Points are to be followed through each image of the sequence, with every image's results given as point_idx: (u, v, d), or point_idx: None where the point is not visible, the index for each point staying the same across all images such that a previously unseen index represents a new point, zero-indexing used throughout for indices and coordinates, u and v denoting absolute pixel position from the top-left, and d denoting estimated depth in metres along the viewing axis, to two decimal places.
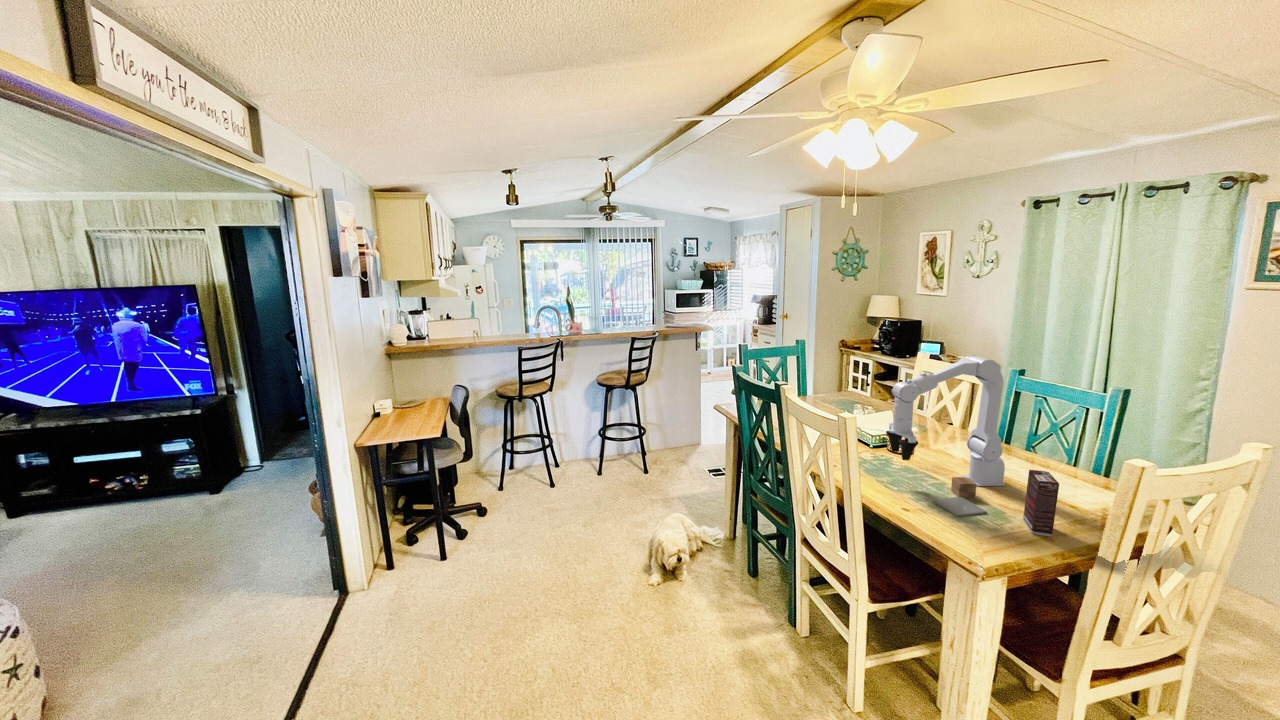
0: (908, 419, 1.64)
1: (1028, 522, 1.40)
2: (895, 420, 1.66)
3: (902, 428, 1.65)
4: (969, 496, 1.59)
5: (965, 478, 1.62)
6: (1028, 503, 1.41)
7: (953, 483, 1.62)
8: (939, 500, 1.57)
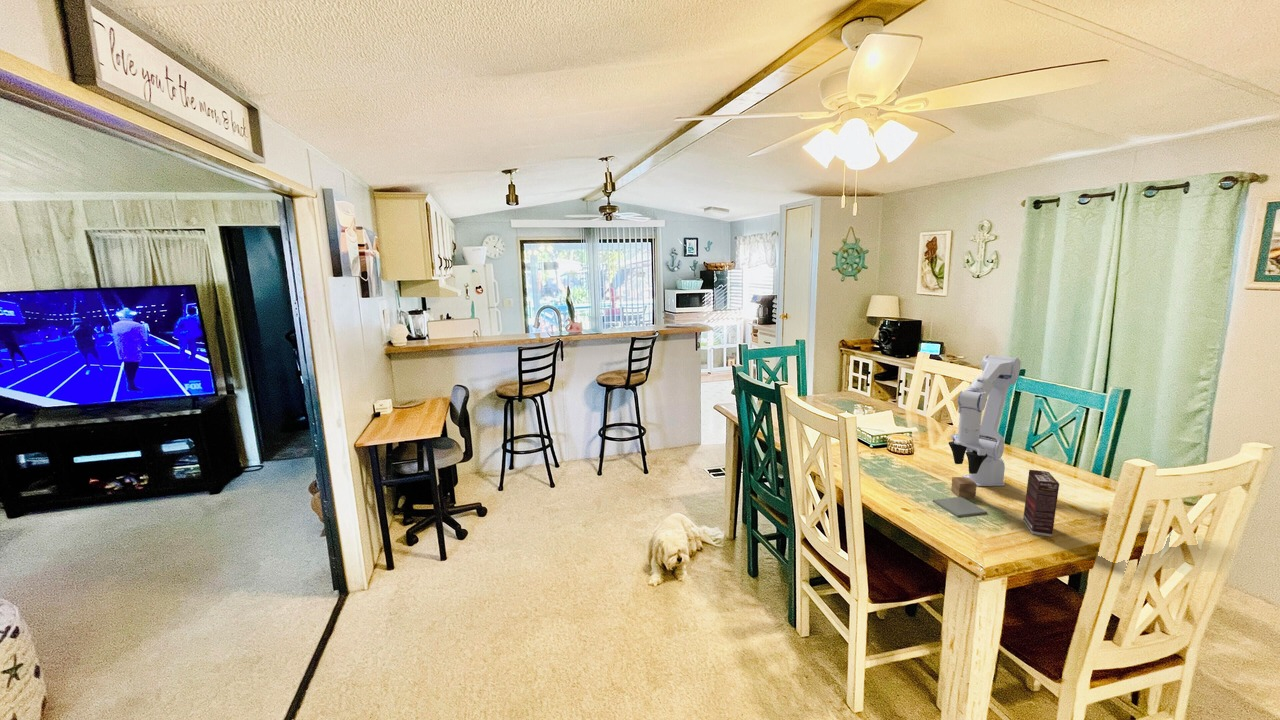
0: (979, 429, 1.55)
1: (1028, 522, 1.40)
2: (961, 431, 1.56)
3: (969, 440, 1.55)
4: (969, 496, 1.59)
5: (965, 478, 1.62)
6: (1028, 503, 1.41)
7: (953, 483, 1.62)
8: (939, 500, 1.57)
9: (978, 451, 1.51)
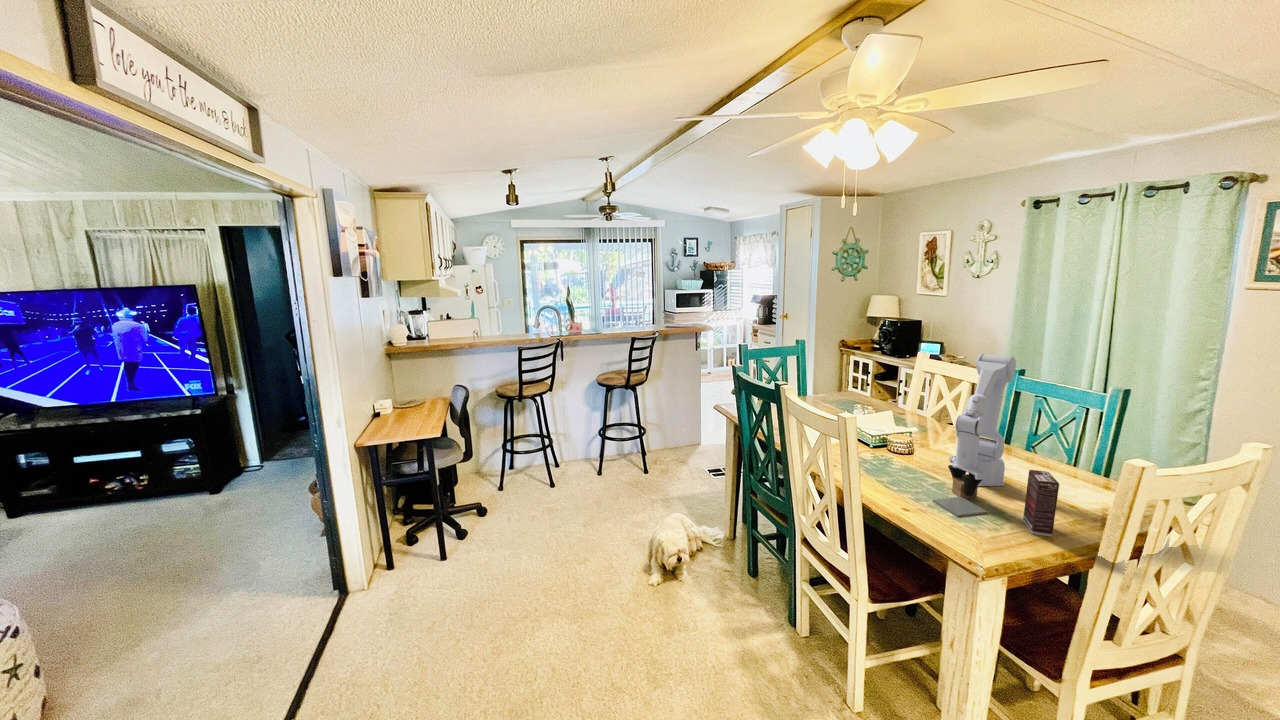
0: (977, 453, 1.56)
1: (1028, 522, 1.40)
2: (959, 454, 1.58)
3: (967, 463, 1.56)
4: (971, 497, 1.58)
5: None
6: (1028, 503, 1.41)
7: (954, 483, 1.62)
8: (939, 500, 1.57)
9: (976, 475, 1.52)
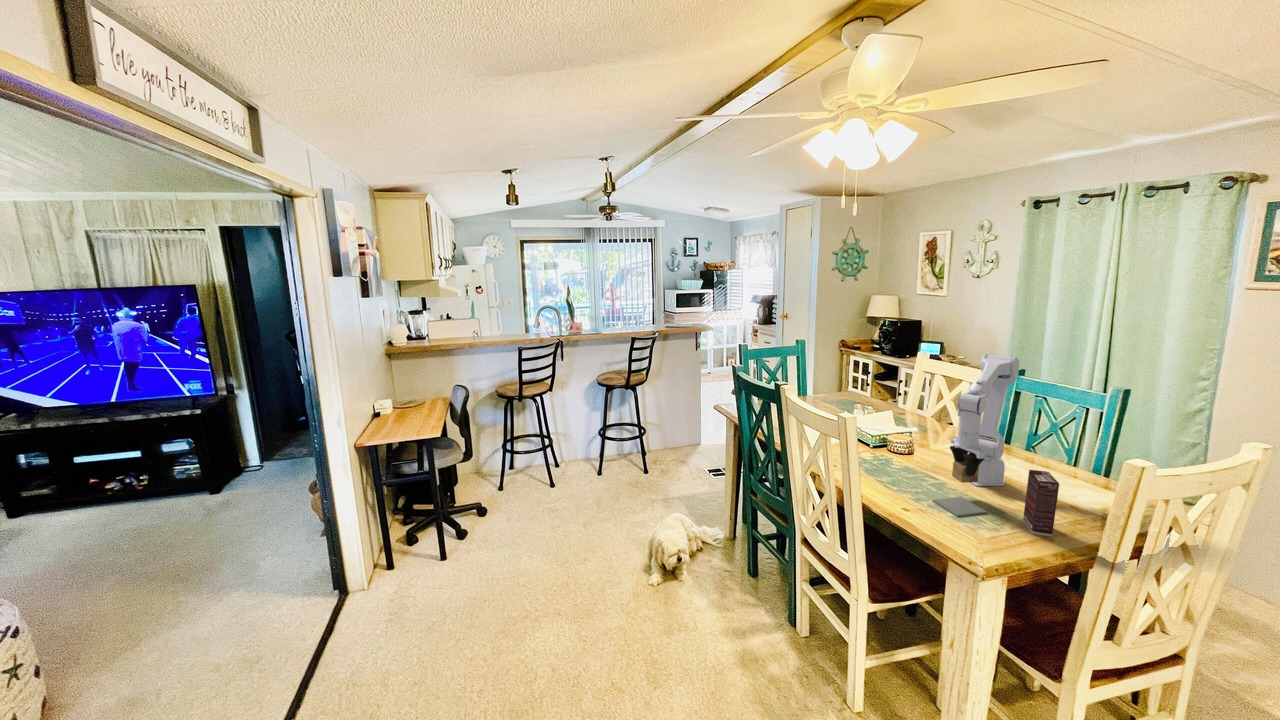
0: (979, 432, 1.54)
1: (1028, 522, 1.40)
2: (961, 434, 1.56)
3: (968, 443, 1.54)
4: (972, 480, 1.57)
5: None
6: (1028, 503, 1.41)
7: (955, 467, 1.60)
8: (939, 500, 1.57)
9: (977, 454, 1.50)
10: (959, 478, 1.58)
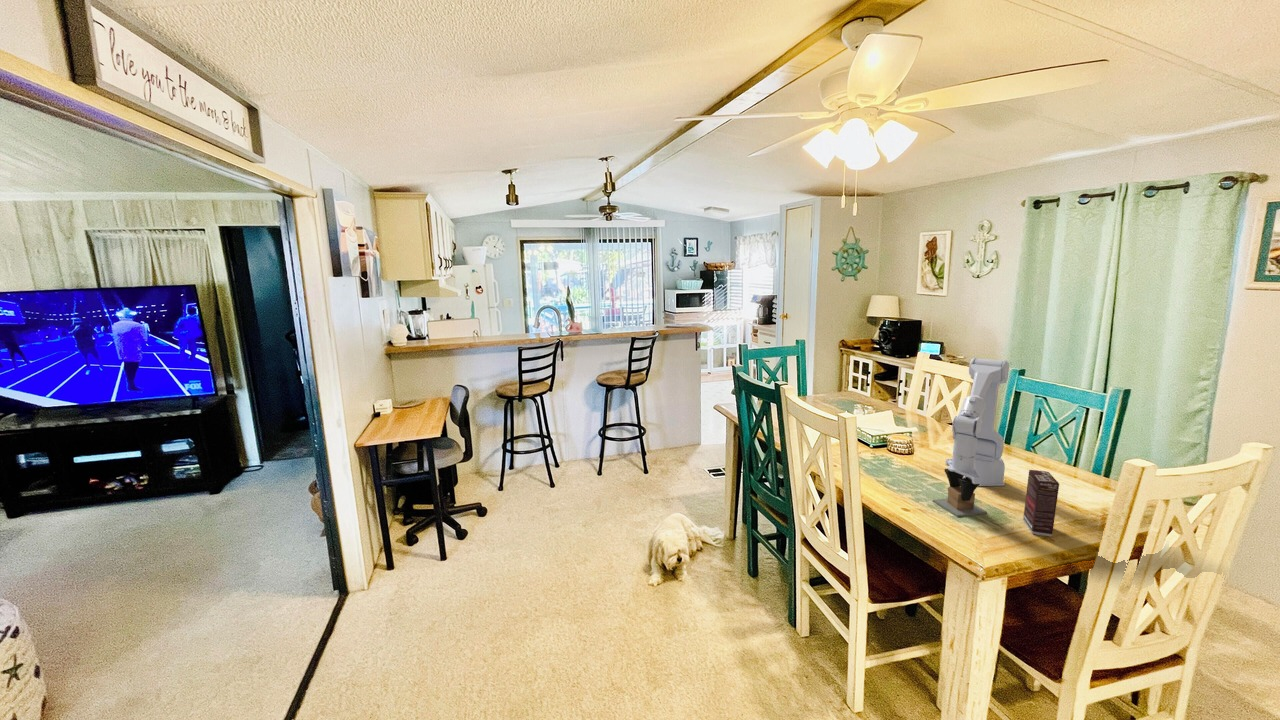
0: (975, 455, 1.48)
1: (1028, 522, 1.40)
2: (956, 457, 1.50)
3: (964, 467, 1.48)
4: (968, 507, 1.50)
5: None
6: (1028, 503, 1.41)
7: (950, 493, 1.54)
8: (939, 500, 1.57)
9: (973, 479, 1.44)
10: (954, 505, 1.52)
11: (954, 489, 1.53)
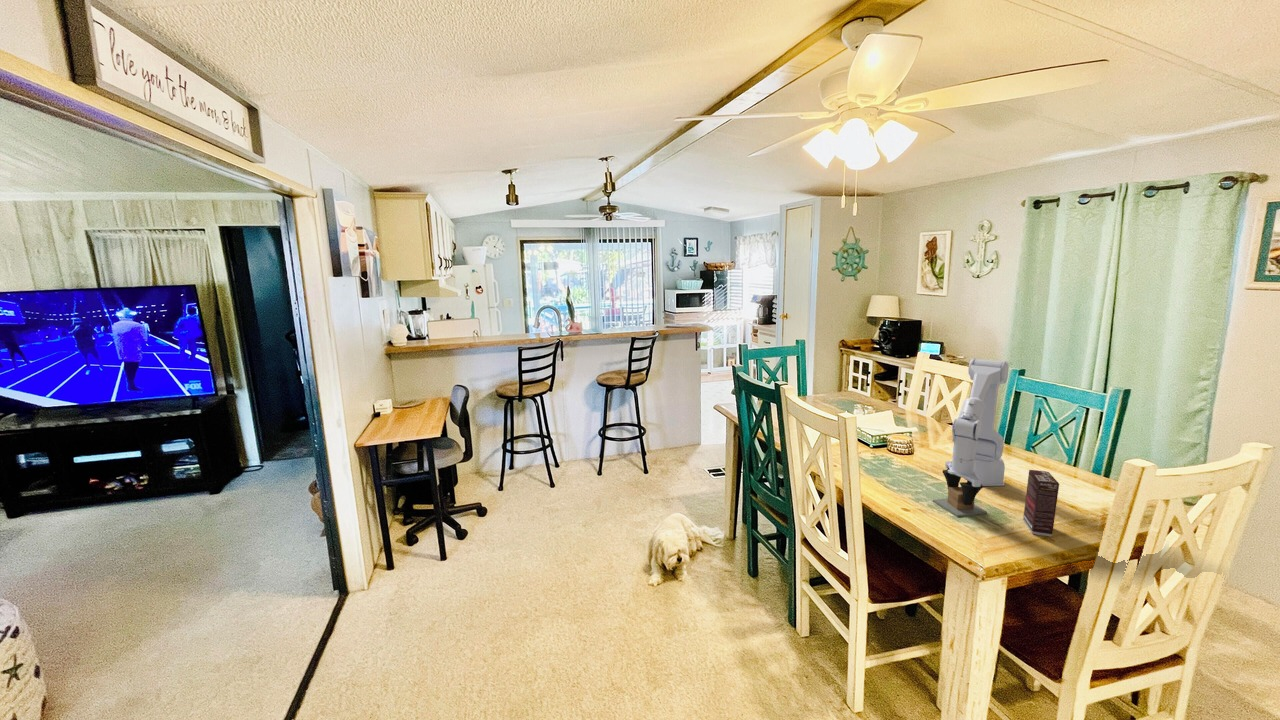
0: (974, 458, 1.48)
1: (1028, 522, 1.40)
2: (955, 460, 1.50)
3: (963, 470, 1.48)
4: (968, 507, 1.50)
5: (961, 487, 1.54)
6: (1028, 503, 1.41)
7: (950, 493, 1.54)
8: (939, 500, 1.57)
9: (973, 482, 1.44)
10: (954, 505, 1.52)
11: (954, 489, 1.53)
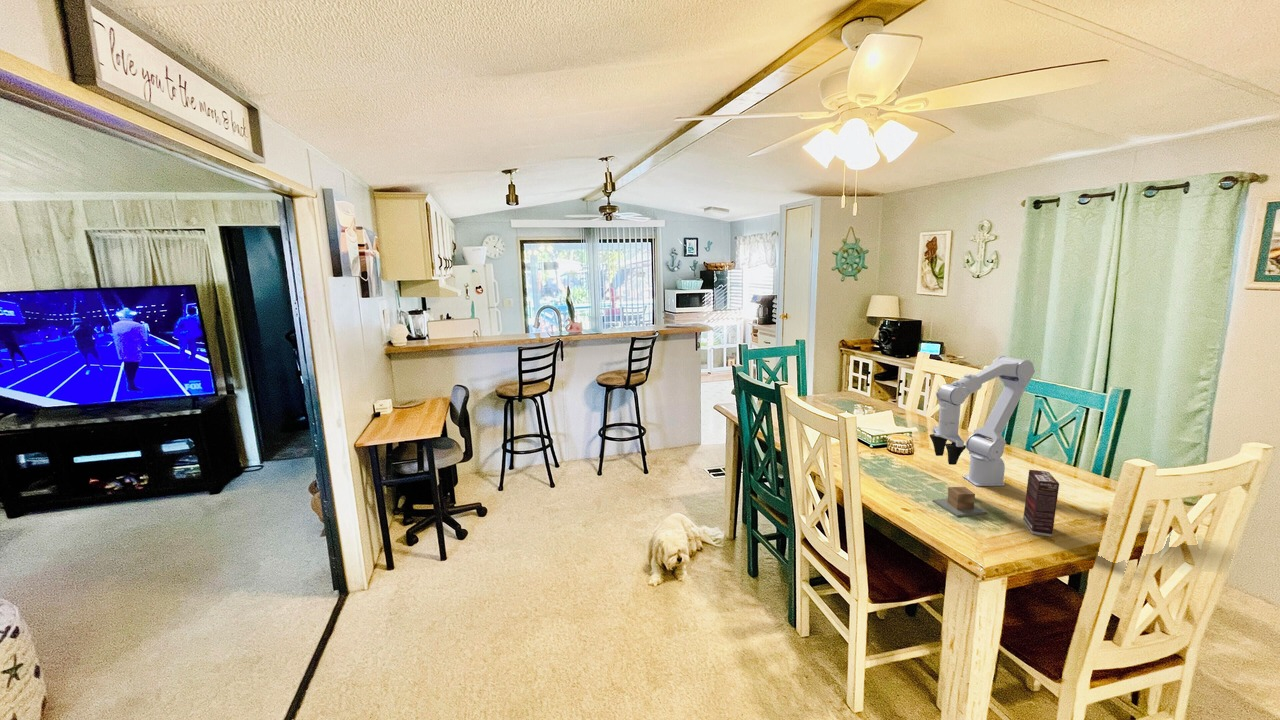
0: (957, 422, 1.60)
1: (1028, 522, 1.40)
2: (941, 423, 1.62)
3: (948, 432, 1.61)
4: (968, 507, 1.50)
5: (961, 487, 1.54)
6: (1028, 503, 1.41)
7: (950, 493, 1.54)
8: (939, 500, 1.57)
9: (956, 443, 1.57)
10: (954, 505, 1.52)
11: (954, 489, 1.53)
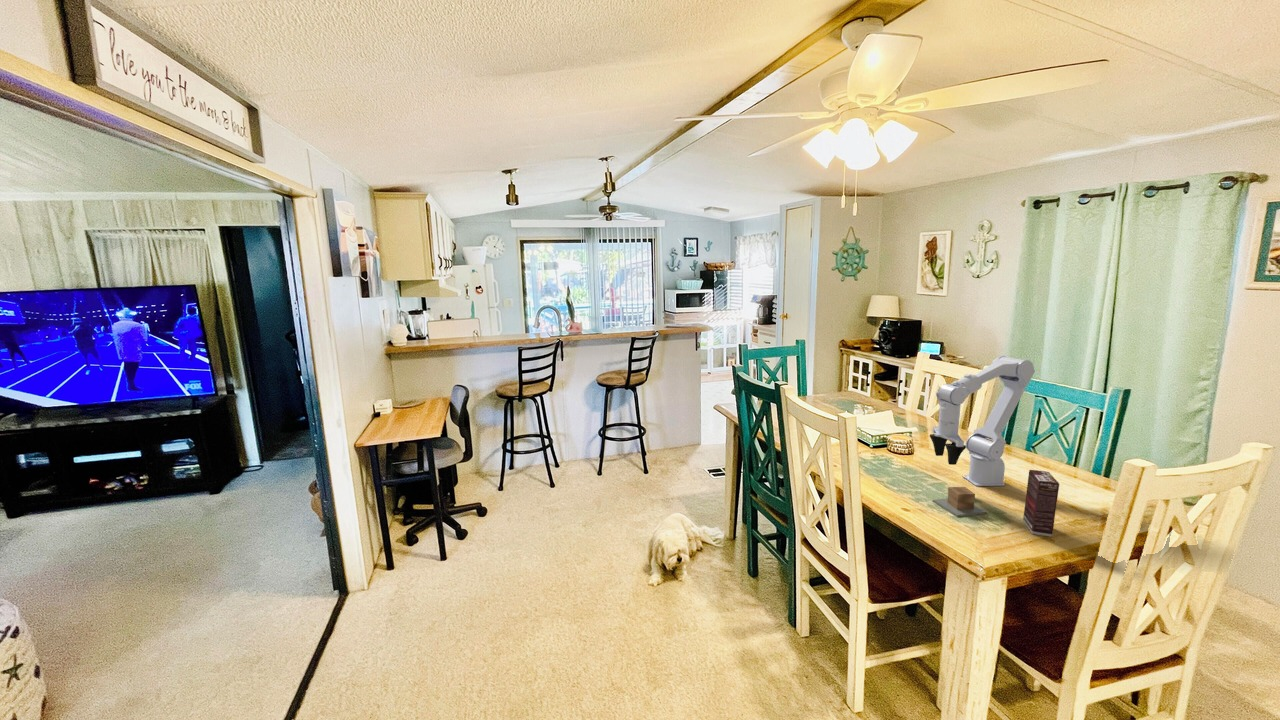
0: (957, 422, 1.60)
1: (1028, 522, 1.40)
2: (941, 423, 1.62)
3: (948, 432, 1.61)
4: (968, 507, 1.50)
5: (961, 487, 1.54)
6: (1028, 503, 1.41)
7: (950, 493, 1.54)
8: (939, 500, 1.57)
9: (956, 443, 1.57)
10: (954, 505, 1.52)
11: (954, 489, 1.53)
